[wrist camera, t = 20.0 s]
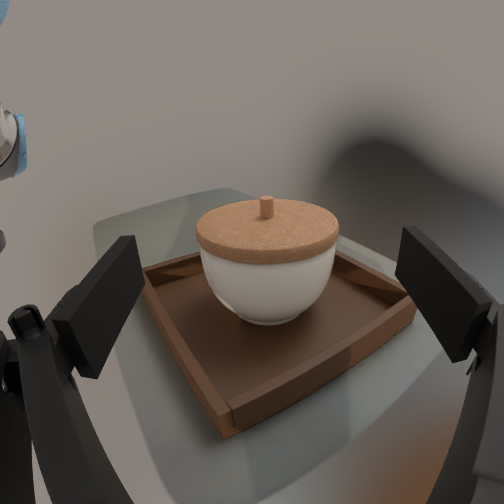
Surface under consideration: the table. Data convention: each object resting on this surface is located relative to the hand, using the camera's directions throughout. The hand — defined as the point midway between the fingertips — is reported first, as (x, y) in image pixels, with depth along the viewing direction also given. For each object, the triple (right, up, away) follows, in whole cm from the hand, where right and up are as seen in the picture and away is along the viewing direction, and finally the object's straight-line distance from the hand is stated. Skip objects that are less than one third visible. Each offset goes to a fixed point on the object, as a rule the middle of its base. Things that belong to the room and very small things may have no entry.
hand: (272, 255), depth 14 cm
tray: (0, -5, +12) cm, 13 cm away
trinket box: (+1, -4, +12) cm, 13 cm away
